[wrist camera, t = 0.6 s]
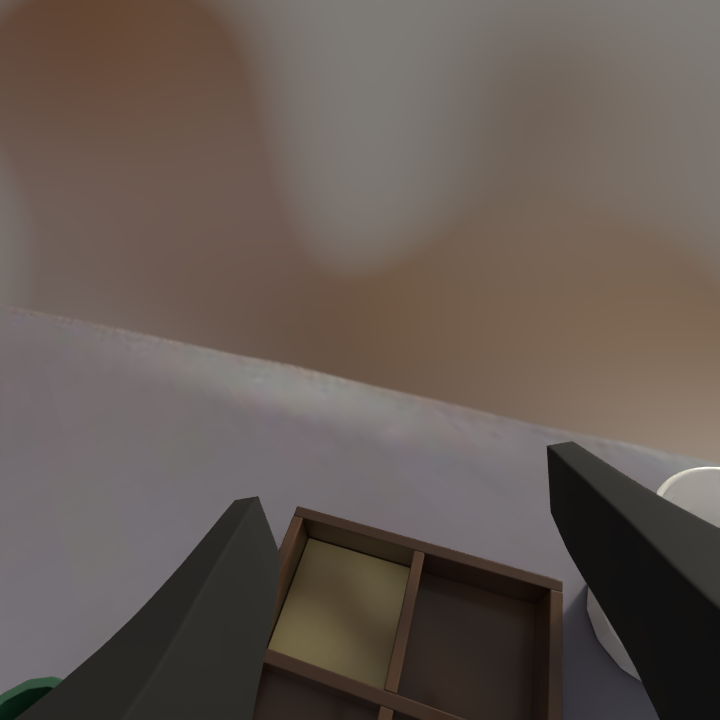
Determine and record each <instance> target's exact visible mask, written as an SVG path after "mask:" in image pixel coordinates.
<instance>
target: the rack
mask: <svg viewBox="0 0 720 720" xmlns="http://www.w3.org/2000/svg"><path fill="white" fill-rule="evenodd" d="M279 553H280V570H279V582H278V592H277V600H276V605H275V610H274V615H273V620H272V624H271V629H270V634H269V639H268V644H267V648H266V653H265V658H264V662H263V667H262V672H261V676H260V681H259V686H258V691H257V696H256V701H255V707H254V713H253V719H252V720H562V605H563V594H562V581H561V580H557V579H554V578H550V577H547V576H543V575H540V574H536V573H533V572H529V571H525V570H522V569H518V568H515V567H511V566H508V565H504V564H501V563H497V562H494V561H490V560H487V559H483V558H479V557H476V556H472V555H469V554H465V553H462V552H458V551H455V550H451V549H448V548H444V547H441V546H437V545H433V544H430V543H426V542H423V541H419V540H416V539H412V538H409V537H405V536H402V535H398V534H395V533H391V532H388V531H384V530H380V529H377V528H373V527H370V526H366V525H363V524H359V523H356V522H352V521H349V520H345V519H342V518H338V517H334V516H331V515H327V514H324V513H320V512H317V511H313V510H310V509H306V508H303V507H299V506H298V507H297V508H296V511H295V513H294V516H293V518H292V520H291V523H290V525H289V528H288V530H287V533H286V535H285V538H284V540H283V542H282V545H281V547H280V550H279Z"/></svg>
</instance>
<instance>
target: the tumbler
mask: <svg viewBox="0 0 720 720" xmlns="http://www.w3.org/2000/svg"><path fill="white" fill-rule="evenodd" d="M62 681H63V679H60V678H57V677H46V678H37V679H30V680H28V681H26V682H24V683H22V684H20V685H18V686H16V687H14V688H12V689H10V690H8V691H7V692H5V693H3V694H2V695H0V720H14V719H15V718H17V717H18V716H19V715H20V714H22V713H23V712H24V711H26V710H27V709H28V708H30V707H31V706H32V705H33V704H35V703H36V702H37V701H38V700H40V699H41V698H42V697H43V696H45V695H46V694H47V693H49V692H50V691H51V690H52V689H53V688H55V687H56V686H57V685H58V684H59V683H61V682H62Z"/></svg>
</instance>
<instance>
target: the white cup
mask: <svg viewBox="0 0 720 720" xmlns="http://www.w3.org/2000/svg"><path fill="white" fill-rule="evenodd" d="M656 494H657V495H659V496H661V497H663V498H664V499H666V500H668V501H670V502H671V503H673V504H675V505H677V506H679V507H681V508H682V509H684V510H686V511H688V512H690V513H692V514H694V515H695V516H697V517H699V518H701V519H703V520H705V521H707V522H709V523H711V524H713V525H715V526H717V527H719V528H720V468H719V467H700V468H693V469H689V470H685V471H682V472H680V473H678V474H676V475H674V476H672V477H670V478H669V479H668V480H666V481H665V482H664V483H663V484H662V485H661V486H660V488H659V489H658V490H657V491H656ZM587 612H588V614H589V617H590V620H591V623H592V625H593V628H594V631H595V634H596V637H597V639H598V641H599V642H600V643H601V645H602V646H603V647H604V648H605V649H606V651H607V652H608V653H609V654H610V656H611V657H612V658H613V659H614V661H615V662H616V663H617V664H618V666H619V667H620V668H621V669H622V670H624V671H625V672H627V673H629V674H630V675H632V676H633V677H635V678H636V679H638V680H639V681H641V679H640V677H639V675H638V673H637V671H636V669H635V667H634V665H633V663H632V661H631V659H630V657H629V655H628V653H627V652H626V650H625V648H624V646H623V644H622V642H621V641H620V639H619V637H618V636H617V634H616V632H615V631H614V629H613V627H612V626H611V624H610V622H609V620H608V619H607V617H606V615H605V614H604V612H603V610H602V609H601V607H600V605H599V604H598V602H597V600H596V598H595V597H594V595H593V593H592V592H591V590H590V588H589V587H588V596H587ZM641 682H642V681H641Z"/></svg>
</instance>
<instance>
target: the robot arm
mask: <svg viewBox="0 0 720 720" xmlns="http://www.w3.org/2000/svg"><path fill="white" fill-rule="evenodd" d="M547 457H548V474H549V491H550V508H551V514H552V516H553V518H554V521H555V523H556V525H557V528H558V530H559V532H560V535H561V537H562V539H563V541H564V544H565V546H566V548H567V550H568V552H569V554H570V556H571V557H572V559H573V561H574V563H575V564H576V566H577V568H578V570H579V571H580V573H581V575H582V576H583V578H584V580H585V582H586V583H587V585H588V587H589V588H590V590H591V592H592V593H593V595H594V597H595V598H596V600H597V602H598V604H599V605H600V607H601V609H602V610H603V612H604V614H605V615H606V617H607V619H608V620H609V622H610V624H611V626H612V627H613V629H614V631H615V632H616V634H617V636H618V637H619V639H620V641H621V642H622V644H623V646H624V648H625V650H626V652H627V653H628V655H629V657H630V659H631V661H632V663H633V665H634V667H635V669H636V671H637V673H638V675H639V677H640V679H641V681H642V683H643V685H644V687H645V689H646V692H647V694H648V696H649V698H650V700H651V702H652V704H653V706H654V708H655V710H656V712H657V715H658V717H659V719H660V720H720V528H719V527H717V526H715V525H713V524H711V523H709V522H707V521H705V520H703V519H701V518H699V517H697V516H695V515H694V514H692V513H690V512H688V511H686V510H684V509H682V508H681V507H679V506H677V505H675V504H673V503H671V502H670V501H668V500H666V499H664V498H663V497H661V496H659V495H657V494H656V493H654V492H652V491H651V490H649V489H647V488H646V487H644V486H642V485H641V484H639V483H637V482H636V481H634V480H632V479H631V478H629V477H628V476H626V475H624V474H623V473H621V472H620V471H618V470H617V469H615V468H613V467H612V466H610V465H609V464H607V463H606V462H604V461H603V460H601V459H599V458H598V457H596V456H595V455H593V454H592V453H590V452H589V451H587V450H586V449H584V448H583V447H581V446H579V445H578V444H576V443H575V442H573V441H571V442H566V443H560V444H554V445H549V446H547ZM279 570H280V553H279V551H278V548H277V545H276V543H275V540H274V537H273V535H272V532H271V529H270V527H269V524H268V521H267V519H266V516H265V513H264V511H263V508H262V505H261V503H260V500H259V497H258V496H257V497H251V498H245V499H240V500H235V501H234V502H233V503H232V504H231V505H230V507H229V508H228V509H227V510H226V511H225V513H224V514H223V515H222V516H221V517H220V519H219V520H218V521H217V522H216V524H215V525H214V526H213V527H212V528H211V530H210V531H209V532H208V533H207V535H206V536H205V537H204V538H203V539H202V541H201V542H200V543H199V544H198V545H197V547H196V548H195V549H194V550H193V551H192V553H191V554H190V555H189V556H188V557H187V559H186V560H185V561H184V562H183V563H182V565H181V566H180V567H179V568H178V569H177V570H176V571H175V572H174V574H173V575H172V576H171V577H170V578H169V579H168V580H167V581H166V582H165V583H164V585H163V586H162V587H161V588H160V589H159V590H158V591H157V592H156V593H155V595H154V596H153V597H152V598H151V599H150V600H149V601H148V602H147V603H146V604H145V605H144V606H143V607H142V608H141V609H140V610H139V611H138V612H137V614H136V615H135V616H134V617H133V618H132V619H131V620H130V621H129V622H127V623H126V624H125V625H124V626H123V627H122V628H121V629H120V630H119V631H118V632H117V633H116V634H115V635H114V636H113V637H112V638H111V639H110V640H109V641H108V642H107V643H105V644H104V645H103V646H102V647H101V648H100V649H99V650H98V651H97V652H95V653H94V654H93V655H92V656H91V657H90V658H88V659H87V660H86V661H85V662H84V663H83V664H81V665H80V666H79V667H78V668H77V669H76V670H74V671H73V672H72V673H71V674H70V675H69V676H68V677H66V678H65V679H64V680H63V681H62V682H61V683H59V684H58V685H57V686H56V687H55V688H53V689H52V690H51V691H50V692H49V693H47V694H46V695H45V696H43V697H42V698H41V699H40V700H38V701H37V702H36V703H35V704H33V705H32V706H31V707H30V708H28V709H27V710H26V711H24V712H23V713H22V714H20V715H19V716H18V717H17V718H15V719H14V720H252V719H253V713H254V707H255V701H256V696H257V691H258V686H259V681H260V676H261V672H262V667H263V662H264V658H265V653H266V648H267V644H268V639H269V634H270V629H271V624H272V620H273V615H274V610H275V605H276V600H277V592H278V582H279Z"/></svg>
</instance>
